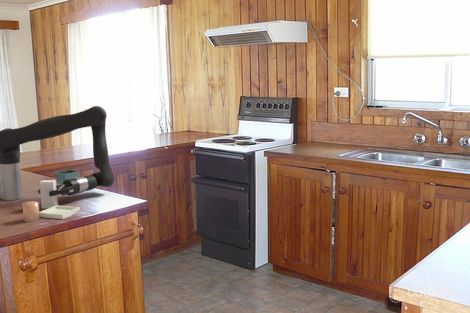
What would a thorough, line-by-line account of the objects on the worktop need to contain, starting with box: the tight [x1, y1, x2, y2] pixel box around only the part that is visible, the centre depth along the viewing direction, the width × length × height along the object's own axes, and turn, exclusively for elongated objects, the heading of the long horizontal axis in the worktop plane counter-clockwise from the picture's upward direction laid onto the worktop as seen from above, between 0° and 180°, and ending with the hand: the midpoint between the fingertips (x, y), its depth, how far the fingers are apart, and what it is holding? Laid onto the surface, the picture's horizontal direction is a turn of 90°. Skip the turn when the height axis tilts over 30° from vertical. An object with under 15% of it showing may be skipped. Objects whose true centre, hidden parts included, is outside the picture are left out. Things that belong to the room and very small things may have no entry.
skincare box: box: [39, 179, 59, 209], centre depth 222 cm, size 6×4×12 cm
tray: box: [39, 204, 81, 220], centre depth 212 cm, size 12×12×2 cm
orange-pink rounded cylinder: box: [22, 200, 41, 223], centre depth 204 cm, size 6×6×7 cm
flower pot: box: [54, 169, 80, 185], centre depth 257 cm, size 9×9×9 cm
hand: (44, 192), depth 220 cm, fingers closed on skincare box, 7 cm apart
